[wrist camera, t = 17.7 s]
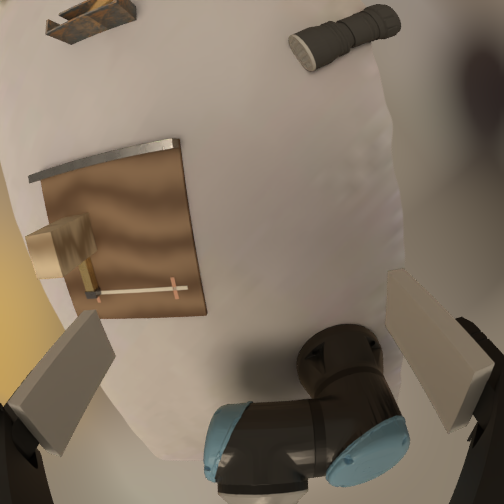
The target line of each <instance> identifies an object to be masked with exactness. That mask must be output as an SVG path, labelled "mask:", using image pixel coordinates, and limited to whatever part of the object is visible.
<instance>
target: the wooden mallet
mask: <svg viewBox="0 0 504 504" xmlns="http://www.w3.org/2000/svg"><path fill="white" fill-rule="evenodd" d="M25 238H26V242H27V246H28V250H29V253H30V257H31V260H32V264H33V267H34V270H35V273H36V276H37V279H50V278H63V277H64V276H66V275H67V274H68V273H69V272H71V271H72V270H73V269H74V268H76V267H77V266H79V270H80V273H81V276H82V280H83V283H84V286H85V289H86V291H85V295H86V298H87V299H97V298H98V297H99V296H100V295H101V290H100V287H98V284H97V281H96V277H95V274H94V270H93V267H92V263H91V259H90V256H91V255H92V254H94V253H95V252H96V251H97V248H96V244H95V240H94V235H93V231H92V226H91V222H90V217H89V213H84V214H79V215H74V216H69V217H64V218H62V219H60V220H58V221H55V222H53V223H51V224H49V225H47V226H45V227H43V228H41V229H39V230H37V231H35V232H33V233H31V234H29V235H27V236H26V237H25Z"/></svg>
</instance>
